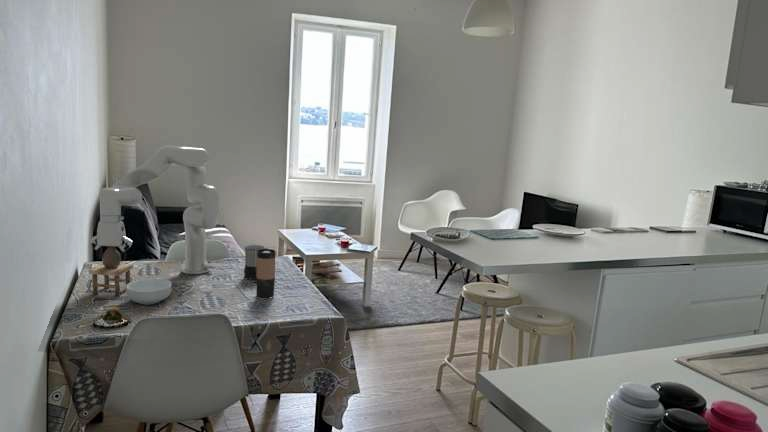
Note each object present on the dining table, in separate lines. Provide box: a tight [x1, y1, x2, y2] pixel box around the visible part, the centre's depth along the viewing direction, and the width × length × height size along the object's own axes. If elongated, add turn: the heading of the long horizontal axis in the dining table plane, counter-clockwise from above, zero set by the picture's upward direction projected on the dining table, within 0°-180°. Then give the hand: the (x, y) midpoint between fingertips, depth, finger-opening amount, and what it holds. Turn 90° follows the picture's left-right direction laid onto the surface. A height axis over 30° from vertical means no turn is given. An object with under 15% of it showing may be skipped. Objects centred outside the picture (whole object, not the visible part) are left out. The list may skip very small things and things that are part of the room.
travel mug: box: [255, 248, 276, 299], centre depth 228 cm, size 8×8×20 cm
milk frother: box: [243, 244, 268, 280], centre depth 259 cm, size 14×16×15 cm
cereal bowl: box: [125, 278, 172, 305], centre depth 214 cm, size 17×17×7 cm
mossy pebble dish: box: [92, 306, 131, 328], centre depth 190 cm, size 12×12×8 cm
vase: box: [101, 246, 122, 269], centre depth 221 cm, size 7×7×9 cm
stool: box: [88, 263, 134, 298], centre depth 222 cm, size 12×12×10 cm
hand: (111, 259), depth 221 cm, fingers open, 9 cm apart
